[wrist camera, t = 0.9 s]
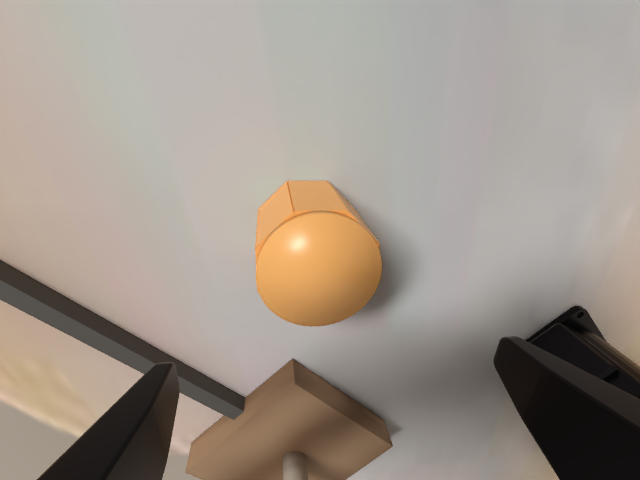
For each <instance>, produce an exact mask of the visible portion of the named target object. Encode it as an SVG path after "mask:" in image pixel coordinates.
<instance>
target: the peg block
mask: <svg viewBox="0 0 640 480" xmlns="http://www.w3.org/2000/svg"><path fill="white" fill-rule="evenodd" d="M391 447H393V445H392V442H391V439H390V436H389V434H388V431H387V428H386V425H385V422H384V420H382V419H381V418H379V417H378V416H376V415H375V414H373V413H372V412H370V411H369V410H368V409H366V408H365V407H363V406H362V405H360V404H359V403H357V402H356V401H354V400H353V399H351V398H350V397H348V396H347V395H345V394H344V393H342V392H341V391H339V390H338V389H337V388H335V387H334V386H332V385H331V384H329V383H328V382H326V381H325V380H323V379H322V378H320V377H319V376H317V375H316V374H314V373H313V372H311V371H310V370H308V369H307V368H306V367H304V366H303V365H301V364H300V363H298V362H297V361H295V360H294V359H292V360H290V361H289V362H288V363H287V364H286V365H284V366H283V367H282V368H281V369H280V370H278V371H277V372H276V373H275V374H274V375H272V376H271V377H270V378H269V379H268V380H266V381H265V382H264V383H263V384H262V385H260V386H259V387H258V388H257V389H255V390H254V391H253V392H252V393H251V394H249V395H248V396H247V397H246V398H245V406H244V412H243V413H242V414H240V415H239V416H238V417H237V418H235V419H234V420H233V419H231V418H229V417H227V416H225V415H224V416H223V417H222V418H221V419H219V420H218V421H217V422H216V423H215V424H213V425H212V426H211V427H210V428H209V429H207V430H206V431H205V432H204V433H203V434H201V435H200V436H199V437H198V438H197V439H195V440H194V441H193V442H192V444H191V448H190V453H189V458H188V462H187V467H186V473H187V474H190V475H193V476H195V477H197V478H200V479H202V480H346V479H347V478H348V477H350V476H351V475H353V474H354V473H356V472H357V471H358V470H360V469H361V468H363V467H364V466H366V465H367V464H368V463H370V462H371V461H373V460H374V459H376V458H377V457H378V456H380V455H381V454H383V453H384V452H386V451H387V450H388V449H390V448H391Z"/></svg>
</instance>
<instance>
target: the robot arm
mask: <svg viewBox="0 0 640 480" xmlns="http://www.w3.org/2000/svg"><path fill="white" fill-rule="evenodd" d="M494 365H495V368H496V370H497V372H498V374H499V376H500V378H501V380H502V382H503V384H504V386H505V388H506V389H507V391H508V393H509V395H510V397H511V399H512V401H513V403H514V405H515V407H516V409H517V411H518V413H519V415H520V416H521V418H522V420H523V422H524V423H525V425H526V427H527V428H528V430H529V431H530V433H531V435H532V436H533V438H534V439H535V441H536V443H537V444H538V446H539V447H540V449H541V451H542V452H543V454H544V455H545V457H546V458H547V460H548V462H549V463H550V465H551V466H552V468H553V470H554V471H555V473H556V474H557V476H558V478H559V479H560V480H640V367H639V366H638V365H637V364H635V363H634V362H633V361H631V360H630V359H628V358H627V357H626V356H624V355H623V354H622V353H620V352H619V351H618V350H616V349H615V348H614V347H612V346H611V345H610V344H608V343H607V342H606V340H605V339H604V337H603V336H602V334H601V332H600V331H599V329H598V328H597V326H596V325H595V323H594V321H593V320H592V318H591V317H590V315H589V314H588V312H587V310H585V309H584V308H582V307H581V306H575V307H573V308H572V309H570V310H569V311H567V312H566V313H565V314H563V315H562V316H560V317H559V318H558V319H556V320H555V321H553V322H552V323H550V324H549V325H548V326H546V327H545V328H543V329H542V330H541V331H539V332H538V333H536V334H535V335H534V336H532V337H531V338H529V339H528V340H527V341H525V340H523V339H521V338H519V337H515V336H512V337H503V338H501V339H500V341H499V344H498V347H497V350H496V353H495V356H494ZM179 389H180V388H179V381H178V376H177V371H176V366H175V364H174V363H173V362H164V363H157V364H155V365H154V366H153V367H152V368H151V369H150V370H149V371H148V372H147V373H146V374H145V375H144V376H143V377H142V378H140V379H139V380H138V381H137V382H136V383H135V384H134V385H133V386H132V387H131V388H130V389H129V390H128V391H127V392H126V393H125V394H124V395H123V396H122V397H121V398H120V399H119V400H118V401H117V402H116V403H115V404H114V405H113V406H112V407H111V408H110V409H109V410H108V411H107V412H106V413H105V414H104V415H103V416H102V417H100V418H99V419H98V420H97V421H96V422H95V423H94V424H93V425H92V426H91V427H90V428H89V429H88V430H87V431H86V432H85V433H84V434H83V435H82V436H81V437H80V438H79V439H78V440H77V441H76V442H75V443H74V444H73V445H72V446H71V447H70V448H69V449H68V450H67V451H66V452H65V453H64V454H63V455H62V456H60V457H59V459H57V460H56V461H55V462H54V463H53V464H52V465H51V466H50V467H49V468H48V469H47V470H46V471H45V472H44V473H43V474H42V475H41V476H40V477H39V478H38V479H37V480H162V477H163V473H164V470H165V466H166V462H167V458H168V453H169V448H170V442H171V437H172V431H173V426H174V420H175V415H176V409H177V404H178V398H179Z"/></svg>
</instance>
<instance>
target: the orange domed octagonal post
mask: <svg viewBox="0 0 640 480" xmlns="http://www.w3.org/2000/svg"><path fill="white" fill-rule="evenodd" d="M379 247H380V244H379V242H378V240H377V239H376V238H375V236H374V235H373V234H372V232H371V231H370V229H369V228H368V227H367V225H366V224H365V223H364V221H363V220H362V219H361V217H360V216H359V214H358V213H357V212H356V210H355V209H354V208H353V207H352V206H351V204H350V203H349V202H348V201H347V200H346V199H345V198H344V197H343V196H342V195H341V194H340V193H339V192H338V191H337V190H336V189H335V188H334V186H333V185H332V184H331V183H330V182H328V181H288V182H287V181H286V182H285V183H284V184H283V185H282V186H281V187H280V188H279V189H278V190H277V191H276V192H275V193H274V194H273V195H272V196H271V197H270V198H269V199H268V200H267V201H266V202H265V203H264V204H263V205H262V206H261V207H260V208H259V210H258V219H257V232H256V246H255V251H256V283H257V292H258V293H259V294H260V296H261V298H262V300H263V301H264V303H265V304H266V306H267V307H268V308H269V309H270V310H271V311H272V312H273V313H275V314H276V315H277V316H279V317H280V318H282V319H284V320H286V321H288V322H291V323H294V324H298V325H303V326H324V325H330V324H334V323H337V322H340V321H342V320H344V319H347V318H348V317H350V316H352V315H354V314H355V313H356V312H358V311H359V310H360V309H361V308H363V307H364V306H365V305H366V304H367V302H368V301H369V300H370V299H371V297H372V296H373V295H374V293H375V291H376V289H377V287H378V285H379V282H380V278H381V274H382V259H381V255H380V251H379Z"/></svg>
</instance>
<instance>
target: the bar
mask: <svg viewBox="0 0 640 480" xmlns="http://www.w3.org/2000/svg"><path fill="white" fill-rule="evenodd" d="M0 300H2V301H4V302H6V303H8V304H10V305H12V306H14V307H16V308H18V309H19V310H21V311H23V312H25V313H27V314H29V315H31V316H33V317H35V318H37V319H39V320H41V321H43V322H45V323H47V324H49V325H50V326H52V327H54V328H56V329H58V330H60V331H62V332H64V333H66V334H68V335H70V336H72V337H74V338H76V339H78V340H80V341H81V342H83V343H85V344H87V345H89V346H91V347H93V348H95V349H97V350H99V351H101V352H103V353H105V354H107V355H109V356H111V357H112V358H114V359H116V360H118V361H120V362H122V363H124V364H126V365H128V366H130V367H132V368H134V369H136V370H138V371H140V372H141V373H143V374H146V373H147V372H148V371H149V370H150V369H151V368H152V367H153V366H154V365H155V364H157V363H164V362H173V363H174V364H175V366H176V371H177V376H178V381H179V388H180V389H179V392H180V393H182V394H184V395H186V396H188V397H190V398H192V399H194V400H196V401H198V402H200V403H202V404H203V405H205V406H207V407H209V408H211V409H213V410H215V411H217V412H219V413H221V414H223V415H225V416H227V417H229V418H231V419H233V420H234V419H235V418H237V417H238V416H239V415H240V414H242V413H243V412H244V406H245V398H244V397H242V396H240V395H238V394H237V393H235V392H233V391H231V390H230V389H228V388H226V387H224V386H222V385H221V384H219V383H217V382H215V381H214V380H212V379H210V378H208V377H206V376H205V375H203V374H201V373H199V372H197V371H196V370H194V369H192V368H190V367H189V366H187V365H185V364H183V363H181V362H180V361H178V360H176V359H174V358H173V357H171V356H169V355H167V354H165V353H164V352H162V351H160V350H158V349H157V348H155V347H153V346H151V345H149V344H148V343H146V342H144V341H142V340H140V339H139V338H137V337H135V336H133V335H132V334H130V333H128V332H126V331H124V330H123V329H121V328H119V327H117V326H116V325H114V324H112V323H110V322H108V321H107V320H105V319H103V318H101V317H100V316H98V315H96V314H94V313H92V312H91V311H89V310H87V309H85V308H83V307H82V306H80V305H78V304H76V303H75V302H73V301H71V300H69V299H67V298H66V297H64V296H62V295H60V294H59V293H57V292H55V291H53V290H51V289H50V288H48V287H46V286H44V285H43V284H41V283H39V282H37V281H35V280H34V279H32V278H30V277H28V276H26V275H25V274H23V273H21V272H19V271H18V270H16V269H14V268H12V267H10V266H9V265H7V264H5V263H3V262H2V261H0Z"/></svg>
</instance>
